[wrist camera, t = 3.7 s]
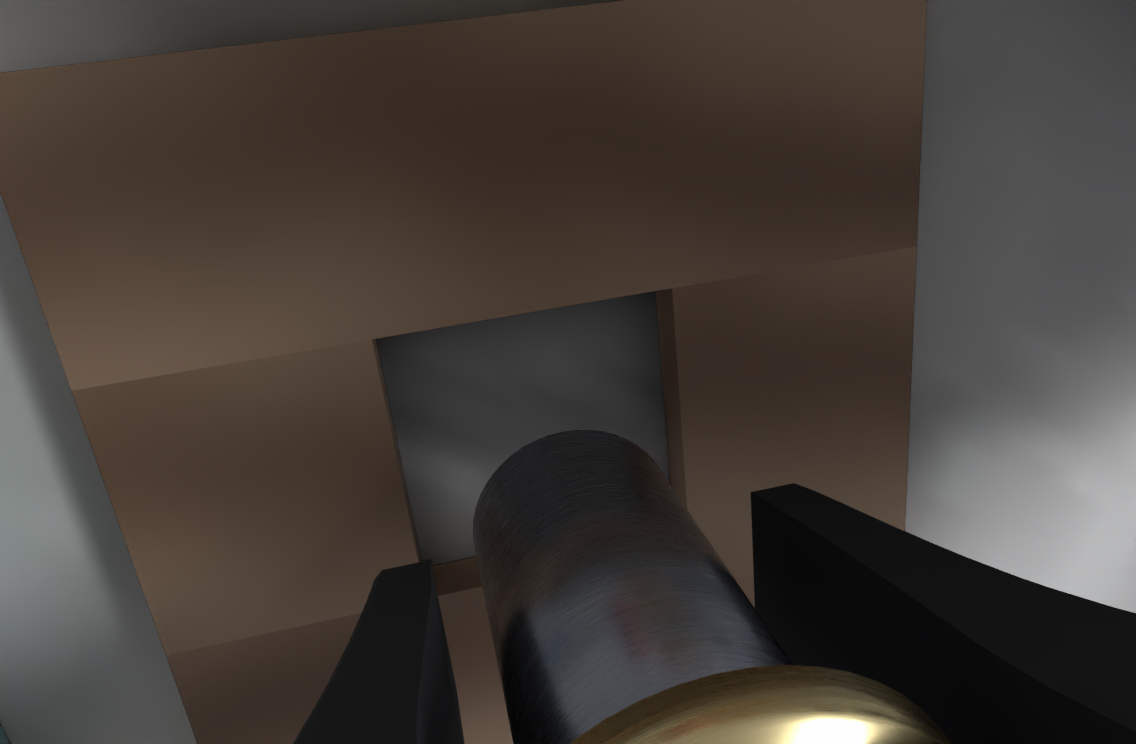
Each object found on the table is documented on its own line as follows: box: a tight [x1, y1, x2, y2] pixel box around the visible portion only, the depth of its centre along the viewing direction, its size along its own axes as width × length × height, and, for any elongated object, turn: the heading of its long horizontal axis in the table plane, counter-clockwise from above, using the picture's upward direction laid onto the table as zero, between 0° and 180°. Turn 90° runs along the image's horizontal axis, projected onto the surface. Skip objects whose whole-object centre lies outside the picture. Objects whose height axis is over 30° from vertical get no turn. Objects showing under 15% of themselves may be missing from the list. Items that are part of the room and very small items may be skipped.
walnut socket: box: [0, 0, 927, 744], centre depth 15 cm, size 14×14×1 cm
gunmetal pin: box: [473, 430, 952, 744], centre depth 10 cm, size 4×4×7 cm
